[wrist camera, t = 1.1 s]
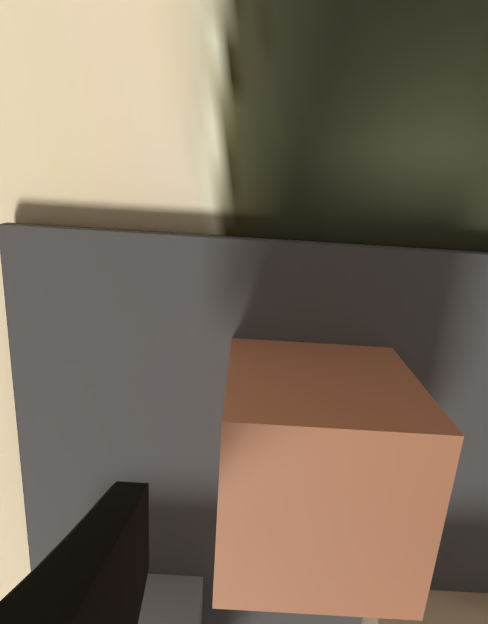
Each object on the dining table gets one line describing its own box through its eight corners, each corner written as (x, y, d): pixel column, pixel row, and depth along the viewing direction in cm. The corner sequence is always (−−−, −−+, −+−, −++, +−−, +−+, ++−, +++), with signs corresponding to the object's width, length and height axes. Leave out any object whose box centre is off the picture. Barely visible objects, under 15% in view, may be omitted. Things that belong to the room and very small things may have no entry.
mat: (489, 720, 18) (495, 735, 17) (49, 694, 18) (44, 709, 17) (630, 260, 12) (645, 264, 12) (7, 222, 12) (-3, 224, 12)
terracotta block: (369, 483, 14) (422, 620, 10) (223, 475, 14) (212, 608, 10) (392, 347, 13) (464, 436, 8) (231, 338, 13) (221, 421, 8)
